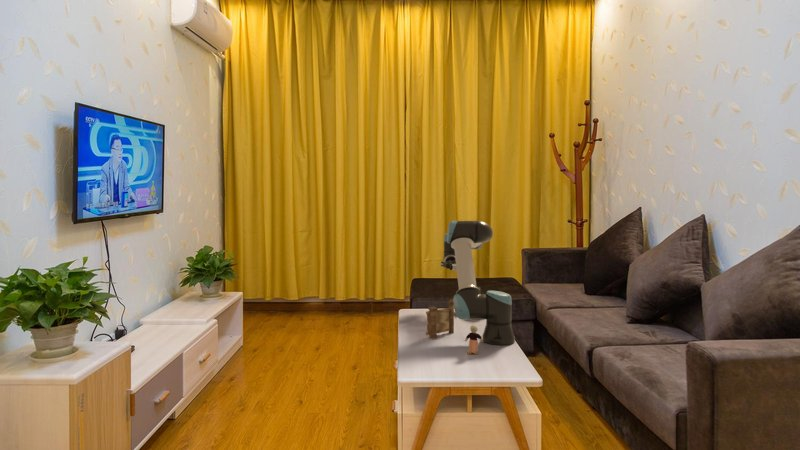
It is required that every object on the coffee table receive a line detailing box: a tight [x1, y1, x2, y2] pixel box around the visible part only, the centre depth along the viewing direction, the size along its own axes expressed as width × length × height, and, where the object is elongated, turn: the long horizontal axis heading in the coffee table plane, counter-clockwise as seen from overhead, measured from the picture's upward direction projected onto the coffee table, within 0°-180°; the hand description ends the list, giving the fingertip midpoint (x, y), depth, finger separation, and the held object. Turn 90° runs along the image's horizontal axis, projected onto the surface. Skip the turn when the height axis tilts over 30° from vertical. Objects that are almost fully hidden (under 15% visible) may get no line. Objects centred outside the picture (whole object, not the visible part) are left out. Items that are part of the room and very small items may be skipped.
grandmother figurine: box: [464, 324, 484, 355], centre depth 226 cm, size 8×4×13 cm, turn 89°
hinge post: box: [447, 298, 455, 335], centre depth 259 cm, size 3×3×17 cm
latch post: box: [427, 306, 438, 340], centre depth 249 cm, size 3×3×15 cm
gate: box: [425, 307, 450, 336], centre depth 254 cm, size 14×2×11 cm, turn 125°
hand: (454, 268), depth 274 cm, fingers closed
